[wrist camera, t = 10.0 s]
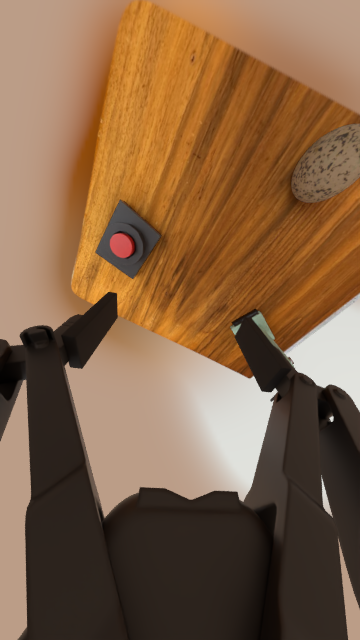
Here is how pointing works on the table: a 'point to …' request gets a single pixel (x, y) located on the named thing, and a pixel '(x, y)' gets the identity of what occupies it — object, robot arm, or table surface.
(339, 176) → the decorative egg
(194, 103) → the table surface
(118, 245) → the button
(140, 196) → the table surface
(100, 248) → the control block
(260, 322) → the bracket
